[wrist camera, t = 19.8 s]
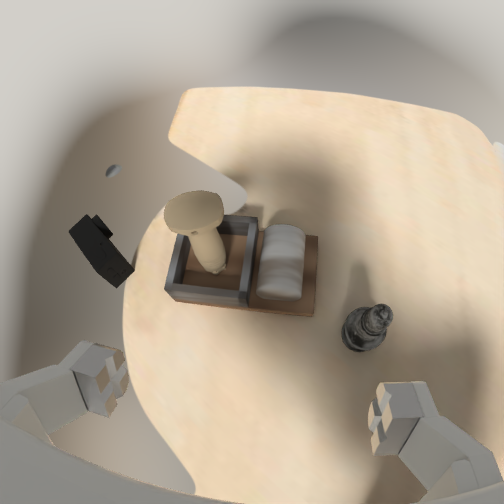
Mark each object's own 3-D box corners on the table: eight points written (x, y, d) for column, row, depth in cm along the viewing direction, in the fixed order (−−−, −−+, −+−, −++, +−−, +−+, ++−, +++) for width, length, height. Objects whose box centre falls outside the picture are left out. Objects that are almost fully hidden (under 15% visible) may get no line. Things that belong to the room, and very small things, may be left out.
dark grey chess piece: (378, 314, 44) (409, 287, 33) (378, 354, 41) (411, 338, 30) (340, 312, 44) (360, 284, 33) (338, 353, 42) (360, 338, 31)
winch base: (312, 316, 44) (318, 303, 38) (175, 301, 47) (161, 286, 41) (316, 240, 49) (322, 218, 43) (191, 230, 52) (181, 207, 46)
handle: (194, 253, 48) (164, 195, 35) (236, 248, 48) (221, 187, 35) (195, 283, 46) (163, 233, 33) (239, 278, 46) (224, 225, 32)
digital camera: (141, 266, 50) (123, 246, 43) (117, 288, 48) (96, 272, 42) (109, 229, 53) (91, 208, 47) (87, 249, 52) (67, 231, 45)
